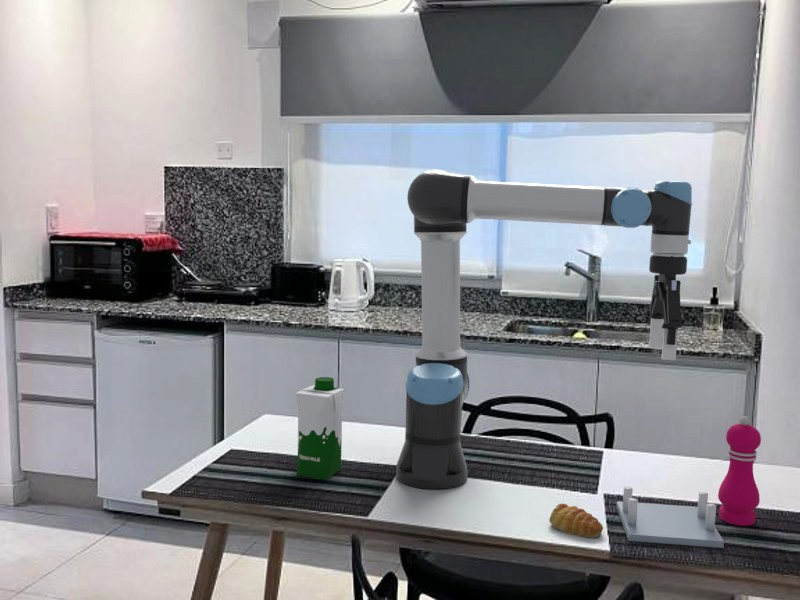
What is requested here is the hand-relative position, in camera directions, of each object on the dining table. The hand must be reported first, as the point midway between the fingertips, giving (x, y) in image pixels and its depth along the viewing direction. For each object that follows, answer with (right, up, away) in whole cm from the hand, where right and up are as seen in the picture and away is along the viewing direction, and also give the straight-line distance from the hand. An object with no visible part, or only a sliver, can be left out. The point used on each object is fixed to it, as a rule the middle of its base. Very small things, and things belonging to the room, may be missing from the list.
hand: (661, 353), depth 175 cm
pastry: (-24, -30, -27) cm, 47 cm away
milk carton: (-74, -26, -1) cm, 78 cm away
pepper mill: (+8, -30, -21) cm, 38 cm away
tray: (-7, -30, -25) cm, 40 cm away
